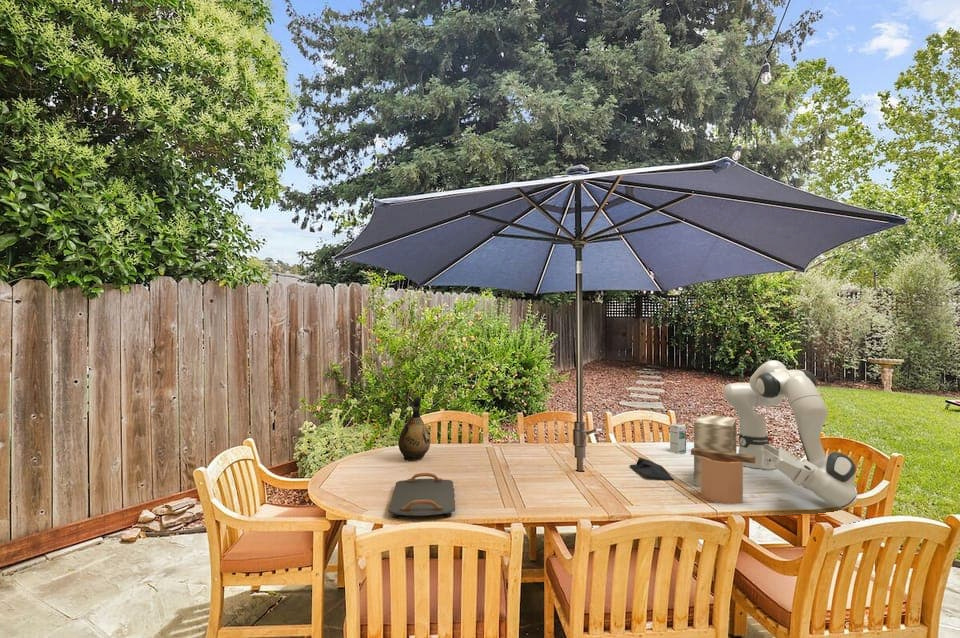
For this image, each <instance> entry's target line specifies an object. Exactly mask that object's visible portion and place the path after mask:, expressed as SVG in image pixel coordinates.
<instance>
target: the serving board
mask: <svg viewBox="0 0 960 638" xmlns="http://www.w3.org/2000/svg"><path fill="white" fill-rule="evenodd" d="M420 477H430V478H420ZM394 485H395V486H394V488H393V492H392V496H391V498H390V503H389V507H388V510H387V511H388V513H389V514H391V518H392V519H394V520H395V519H398V518H399V515H401V516H413V517H414V516H415V517H417V516H418V517H421V516H422V517H423V516H437V515H443V514H444V515H445V517H446V518H451V517H452V513H454V512H456V500H455V497H456V496H455V488H454V482H453V480H451V479H442V478H440V477H438V475H436V474H434V473H430V472H420V473H415V474H414V475H413V476H411V478H407V479H405V480H398V481H396V482H395V484H394Z"/></svg>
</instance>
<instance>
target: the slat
mask: <svg viewBox="0 0 960 638" xmlns="http://www.w3.org/2000/svg"><path fill="white" fill-rule="evenodd" d="M690 455H691V456H694V455H696V456H703V457H710V458H718V459H725V460H732V461H740V462H747V463H754V464H755V456H753V455H745V454H738V452H737V453H730V452H722V451H714V450H707V449H699V448H694V447H692V448H691V449H690Z"/></svg>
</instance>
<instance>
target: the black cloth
mask: <svg viewBox="0 0 960 638" xmlns="http://www.w3.org/2000/svg"><path fill="white" fill-rule="evenodd" d="M629 468H632V470H633V471H635V472H636V473H638V474H639V475H641V476H642V477H644V478H646V479H652V480H653V479H654V480H661V479H662V481H675V479H674V477H672V476H671V474H670V473H669V472H668V471H667V470H666V469H665V467H663V465H660V464H658V463H655V462H654V461H652V460H649V459H647V458H644V457H638V459H637V461H636V464H629Z"/></svg>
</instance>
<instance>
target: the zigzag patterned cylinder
mask: <svg viewBox="0 0 960 638" xmlns="http://www.w3.org/2000/svg"><path fill="white" fill-rule="evenodd" d="M737 421H738V420H737V417H733V416H722V415H721V416H720V415H709V414H700V416H699V417H698V418H696V420H695V421H694V422H693V426H694V427H693V448H699V449H707V450H714V451H722V452H730V453H737V454H738V452H737V451H738V450H737V449H738V448H737V438H738V437H737V432H738V431H737V427H738V426H737ZM694 485H696V486H695V487H699V486H701V456H696V455H693V486H694Z"/></svg>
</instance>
